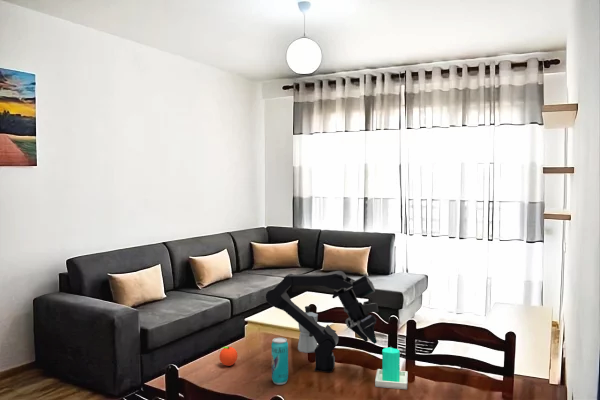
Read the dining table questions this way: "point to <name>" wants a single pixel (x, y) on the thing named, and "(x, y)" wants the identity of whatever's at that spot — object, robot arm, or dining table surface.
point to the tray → (390, 384)
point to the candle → (391, 364)
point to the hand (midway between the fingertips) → (371, 342)
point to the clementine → (228, 356)
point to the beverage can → (279, 361)
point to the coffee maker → (307, 335)
